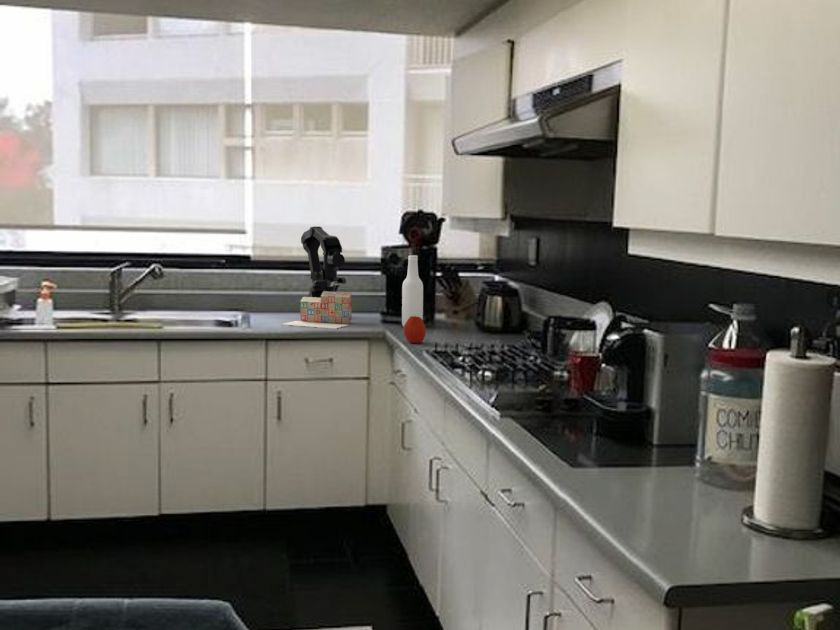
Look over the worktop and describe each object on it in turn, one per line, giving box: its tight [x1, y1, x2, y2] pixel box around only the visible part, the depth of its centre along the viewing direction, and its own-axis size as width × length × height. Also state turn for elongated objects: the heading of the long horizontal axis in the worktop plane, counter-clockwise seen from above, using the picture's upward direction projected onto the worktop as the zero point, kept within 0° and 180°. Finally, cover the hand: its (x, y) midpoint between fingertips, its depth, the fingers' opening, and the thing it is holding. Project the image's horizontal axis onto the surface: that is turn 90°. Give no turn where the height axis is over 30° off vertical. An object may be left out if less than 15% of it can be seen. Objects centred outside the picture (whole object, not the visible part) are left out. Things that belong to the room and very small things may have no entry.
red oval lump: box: [402, 316, 426, 344], centre depth 342 cm, size 8×8×11 cm
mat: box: [282, 320, 349, 330], centre depth 385 cm, size 12×26×1 cm, turn 67°
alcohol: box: [401, 254, 424, 328], centre depth 383 cm, size 9×9×30 cm
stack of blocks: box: [299, 291, 353, 325], centre depth 392 cm, size 21×6×12 cm, turn 84°
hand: (330, 301), depth 396 cm, fingers closed
